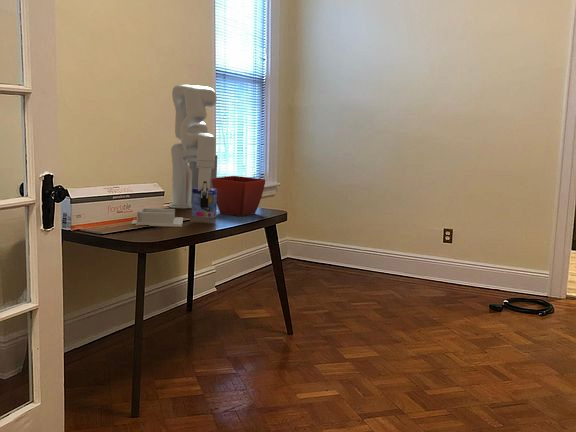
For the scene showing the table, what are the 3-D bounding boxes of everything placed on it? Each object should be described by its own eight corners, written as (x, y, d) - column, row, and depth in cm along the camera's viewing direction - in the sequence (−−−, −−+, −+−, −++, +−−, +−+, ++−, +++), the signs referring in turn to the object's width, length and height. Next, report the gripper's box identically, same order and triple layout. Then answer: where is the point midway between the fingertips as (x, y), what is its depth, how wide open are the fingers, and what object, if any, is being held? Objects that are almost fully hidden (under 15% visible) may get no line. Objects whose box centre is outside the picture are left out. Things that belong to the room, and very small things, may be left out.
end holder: (136, 218, 250) (136, 207, 249) (183, 219, 253) (183, 208, 252) (131, 225, 235) (131, 213, 234) (181, 226, 238) (182, 214, 237)
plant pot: (243, 218, 265) (244, 182, 262) (209, 213, 274) (210, 178, 271) (264, 213, 281) (266, 179, 278) (232, 209, 290) (233, 175, 287)
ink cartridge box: (190, 216, 247) (191, 182, 244) (194, 214, 252) (195, 181, 250) (213, 218, 246) (214, 184, 243) (216, 216, 251) (217, 183, 249)
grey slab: (211, 200, 315) (212, 154, 311) (216, 202, 310) (217, 155, 306) (187, 201, 308) (188, 154, 304) (192, 203, 303) (193, 155, 299)
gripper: (196, 161, 253) (195, 202, 256) (196, 166, 236) (194, 209, 239) (214, 162, 254) (212, 203, 257) (214, 166, 237) (213, 210, 240)
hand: (204, 205), depth 248 cm, fingers closed on ink cartridge box, 6 cm apart
